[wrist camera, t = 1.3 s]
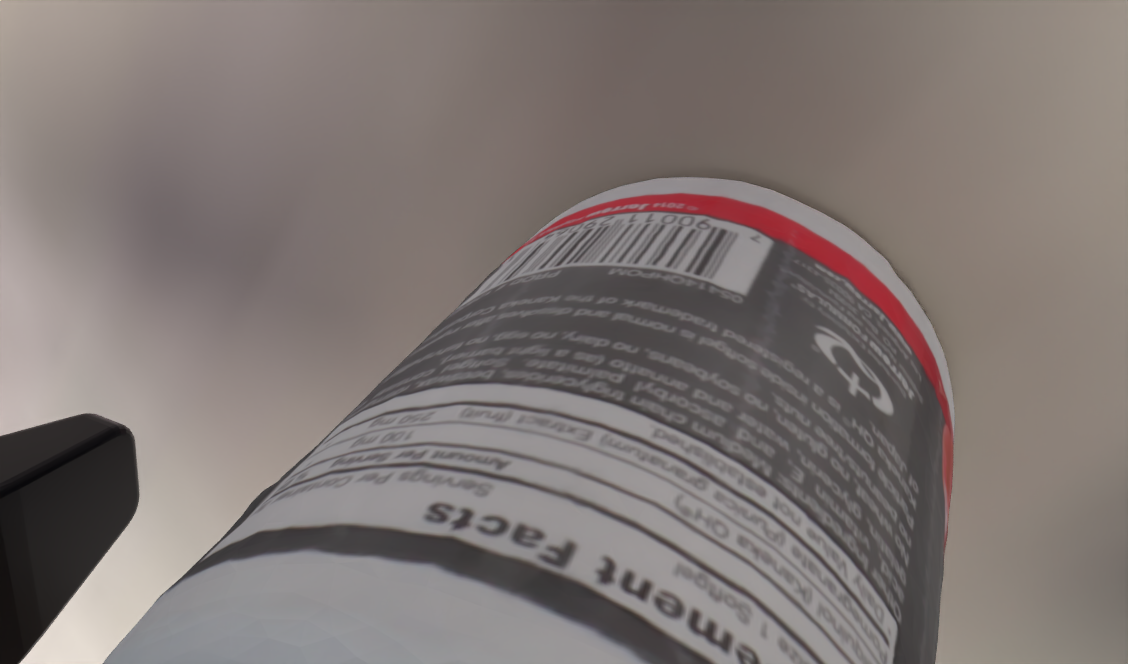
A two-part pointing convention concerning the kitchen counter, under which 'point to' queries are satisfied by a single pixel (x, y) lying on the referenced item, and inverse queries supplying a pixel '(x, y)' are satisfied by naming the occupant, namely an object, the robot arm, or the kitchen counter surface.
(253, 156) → the kitchen counter surface
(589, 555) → the pill bottle
